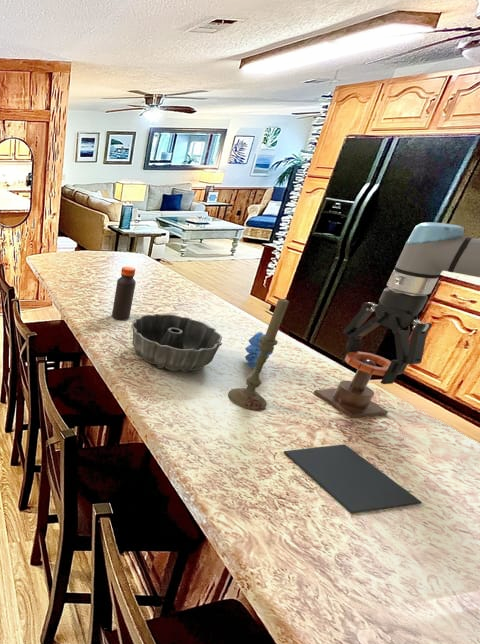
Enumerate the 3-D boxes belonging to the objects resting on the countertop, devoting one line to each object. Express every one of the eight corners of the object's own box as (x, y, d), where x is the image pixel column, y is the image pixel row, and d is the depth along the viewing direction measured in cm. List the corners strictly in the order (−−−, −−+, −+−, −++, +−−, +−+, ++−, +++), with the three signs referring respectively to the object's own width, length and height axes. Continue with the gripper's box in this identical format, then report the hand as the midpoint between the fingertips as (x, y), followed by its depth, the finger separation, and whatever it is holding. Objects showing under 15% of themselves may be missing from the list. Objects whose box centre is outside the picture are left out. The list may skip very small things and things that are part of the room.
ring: (404, 374, 96) (407, 369, 95) (372, 377, 94) (374, 371, 94) (366, 355, 104) (368, 350, 103) (335, 357, 103) (337, 352, 102)
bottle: (130, 321, 150) (139, 271, 141) (112, 319, 150) (120, 270, 142) (128, 314, 156) (136, 266, 147) (110, 312, 157) (118, 265, 148)
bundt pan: (109, 348, 130) (114, 321, 126) (164, 333, 141) (170, 307, 137) (173, 389, 109) (181, 358, 105) (232, 367, 120) (242, 339, 116)
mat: (420, 503, 76) (422, 501, 75) (351, 513, 73) (352, 511, 73) (343, 445, 90) (344, 444, 90) (283, 452, 87) (284, 450, 87)
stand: (386, 414, 101) (412, 370, 95) (350, 418, 99) (374, 373, 93) (346, 390, 110) (367, 348, 104) (313, 392, 109) (332, 351, 103)
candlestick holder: (233, 407, 102) (270, 302, 89) (223, 387, 110) (256, 289, 97) (271, 413, 100) (315, 306, 87) (259, 393, 108) (298, 292, 95)
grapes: (274, 378, 115) (288, 343, 109) (249, 375, 116) (261, 340, 111) (260, 359, 125) (272, 326, 120) (237, 356, 126) (248, 323, 121)
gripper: (347, 276, 100) (315, 352, 109) (450, 310, 80) (399, 398, 90) (372, 275, 101) (338, 350, 110) (479, 308, 81) (426, 396, 91)
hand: (365, 371), depth 100 cm, fingers closed on ring, 10 cm apart
